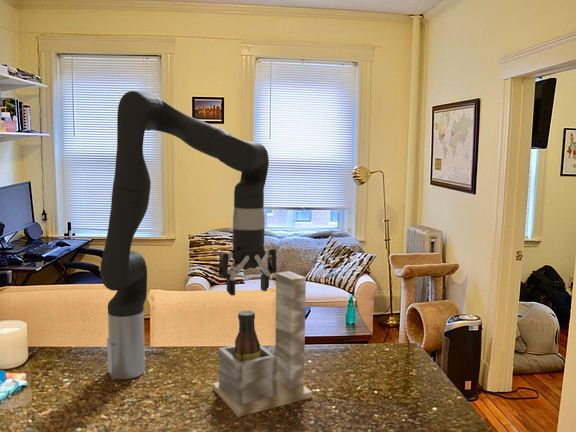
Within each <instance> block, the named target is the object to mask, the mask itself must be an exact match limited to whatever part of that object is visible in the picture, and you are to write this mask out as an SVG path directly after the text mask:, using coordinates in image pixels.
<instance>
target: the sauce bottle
mask: <svg viewBox="0 0 576 432" xmlns="http://www.w3.org/2000/svg"><path fill="white" fill-rule="evenodd" d="M255 314H256V313H255V312H254V311H252V310H243V311H239V312H238V314H237V315H238V316H237V317H238V319H237V320H238V325H239V328H238V334H237V335H236V338H235V340H234V345H235V358H236V359H238V360H239V361H240V362H241V361H246V360H251V359H256V358H261V356H260V344H261V343H260V342H259V339H258V335H257V331H256V328H255V327H256V326H255V318H256V315H255ZM259 343H260V344H259Z"/></svg>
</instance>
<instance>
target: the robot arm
mask: <svg viewBox="0 0 576 432" xmlns="http://www.w3.org/2000/svg"><path fill="white" fill-rule="evenodd" d="M116 120H117V121H116V122H117V125H116V126H117V129H116V132H117V134H116V135H117V136H116V137H117V138H116V154H115V166H114V167H115V168H114V175H113V176H114V178H113V182H112V183H113V184H112V190H111V191H112V192H111V201H110V202H111V205H110V214H109V219H108V225H107V226H108V227H107V233H106V239H105V244H104V248H103V252H102V258H101V262H100V269H99V270H100V271H99V272H100V279H101V282H102V284H103V286H104V287H105V288H106V289H107V290H110V291H112V292H113V291H116V293H115V294H114V296H113V297H112V298H111V299H110V300H109V301H108V303H107V329H108V330H107V331H108V337H107V339H106V346H107V348H106V349H107V351H106V352H107V372H108V375H109V376H110V378H111V380H128V379H129V380H130V379H134V378H138V377H140V376H142V375H143V374H144V373H145V371H146V362H145V361H146V360H145V358H146V356H145V353H146V351H145V318H144V317H145V311H144V310H145V309H144V307H145V302H146V300H147V295H148V291H147V290H148V289H147V288H148V268H147V267H148V266H147V263H146V260H145V258H144V256H143V255H142V254H141V253H139V252H137V251H134V250H131V248H132V242H133V239H134V236H135V234H136V232H137V230H138V228H139V227H140V225H141V223H142V221H144V217H145V216H146V213H147V210H148V207H149V203H150V195H151V189H152V188H151V187H152V186H151V184H152V182H151V176H150V172H149V170H148V167H147V163H146V160H145V157H144V139H145V138H144V137H145V132H146V131H157V132H161V133H166V134H169V135H172V136H174V137H176V138H177V139H179V140H181V141H182V142H184V144H186V145H188V146H189V147H191V148H193V149H194V150H196V151H198V152H200V153H202V154H204V155H206V156H207V155H208V156H209V157H212V158H214V159H217V160H218V161H219V162H221V163H222V164H224V165H226V166H227V167H229V168H230V169H233V170H236V171H238V172H241V175H240V180H239V182H238V183H236V185H234V190H233V191H234V192H233V214H232V251H230V252H225V251H221V252H219V260H218V261H219V263H218V266H219V267H218V276H219V277H220V278H222V279H225V280H226V291H227V293H228V294H229V295H230V296H235V295H236V280H235V279H236V277H237V275H239V274H240V273H241V271H243V270H247V269H256V268H257V269H258V270H259V272H260V273H261V274H260V290H261V291H263V292H268V289H269V288H270V276H271V274H276V273H277V269H278V268H277V250H276V249H275V248H272V247H268V248H266V249H265V247H264V246H265V226H266V225H265V224H266V222H265V211H264V207H265V206H264V204H265V201H264V200H265V199H264V198H265V197H264V196H265V194H264V192H265V185H266V180H267V177H268V171H269V163H270V162H269V161H270V159H269V153H268V150H267V149H266V147H265V145H264V144H261V143H259V142H255V141H247V140H243V139H240V138H237V137H235V136H232V134H231V133H230V132H228V131H227V130H225V129H223V128H220V127H218V126H216V125H213V124H210V123H209V122H208V123H207V122H206V121H203V120H201V119H199V118H195V117H192V116H190V115H188V114H186V113H184V112H182V111H181V110H179V109H177V108H175V107H173V106H172V105H170V104H169V103H167V102H166V101H164V100H163V99H162V98H159V97H158V96H157V95H155V94H152V93H147V92H142V91H137V90H130V91H127V92H125V93H124V94H123V95H122V96H121V98H120V100H119V103H118V107H117V117H116ZM264 257H266V259H267V265H266V264H265V263H264V261H263V259H264ZM231 258H232V260H233V262H232V263H231V265H230V267H229V262H230V261H231ZM228 269H229V270H228Z"/></svg>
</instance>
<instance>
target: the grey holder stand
mask: <svg viewBox="0 0 576 432" xmlns="http://www.w3.org/2000/svg"><path fill="white" fill-rule="evenodd" d="M275 274H276V275H275V276H276V277H275V279H276V283H275V348H274V349H275V354H274V353H273V352H272V351H271V350H270V349H268V348H267V347H265V346H264V345H262V343H260V342H259V344H260V356H261V358H256V359H251V360H246V361H241V362H240V361H239V360H238V359H236V358H235V344H233V345H228V346H223V347H219V348H218V381H216V382H213V383H212V390H213V391H214V393H216V394H217V396H219V397H220V399H221V400H222V401H223V402H224V403H225V404H226V405H227V406H228V408H230V410H231V411H232V412H233V413H234V414H235V415H236V416H237V418H241V417H243V416H244V417H245V416H248V415H251V414H255V413H258V412H259V413H260V412H263V411H266V410H270V409H274V408H278V407H281V406H282V407H283V406H285V405H290V404H293V403H295V402H299V401H300V402H301V401H304V400H308V399H312V398H313V391H312V390H311V389H309V388H308V387H307V386H305V385H304V384H305V346H306V345H305V344H306V343H305V341H306V338H305V336H306V335H305V334H306V294H307V292H306V289H307V288H306V287H307V286H306V285H307V284H306V283H307V282H306V280H307V278H306V277H305V276H302V275H300V274H298V273H295V272H292V271H289V270H288V271H280V272H275Z"/></svg>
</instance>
